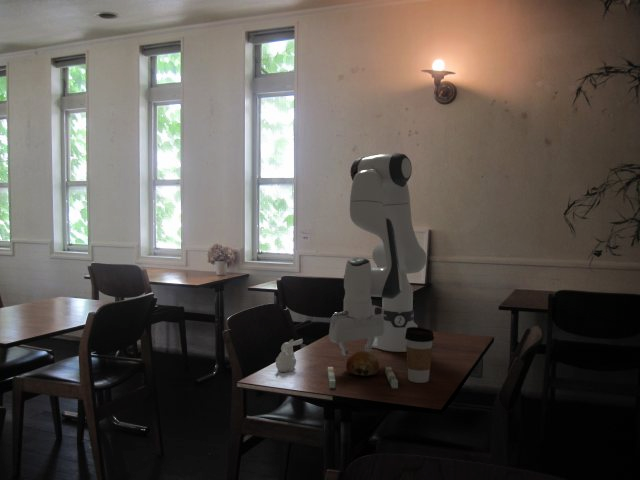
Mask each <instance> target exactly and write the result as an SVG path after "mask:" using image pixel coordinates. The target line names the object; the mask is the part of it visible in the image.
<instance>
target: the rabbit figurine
mask: <svg viewBox="0 0 640 480" xmlns="http://www.w3.org/2000/svg"><path fill="white" fill-rule="evenodd" d="M303 342H304V340H303V338H300V339H297V340H294V339H290V340H289V341H287V342H286V341H285V342H283V344H282V345H281V347H280V350H281V352H280V353H279V354H278V356H277V357H276V359H275V367H276V368H277V371H278V372H280V373H288V372H290V373H291V372H292V371H294V370H296V368H295V367H296V365H297V359H296V358H295V357H296V356H295V353H294V346H299V345H301V344H303Z"/></svg>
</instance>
